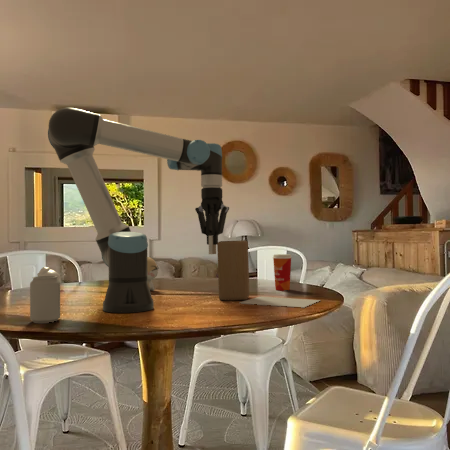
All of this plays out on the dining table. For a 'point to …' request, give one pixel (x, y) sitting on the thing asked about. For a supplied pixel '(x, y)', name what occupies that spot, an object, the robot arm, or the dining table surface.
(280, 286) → the paper cup
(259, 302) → the felt mat
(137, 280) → the robot arm
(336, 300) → the dining table surface
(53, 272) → the ghost figurine
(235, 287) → the block
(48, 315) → the can
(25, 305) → the dining table surface
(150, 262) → the kitten
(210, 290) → the dining table surface
